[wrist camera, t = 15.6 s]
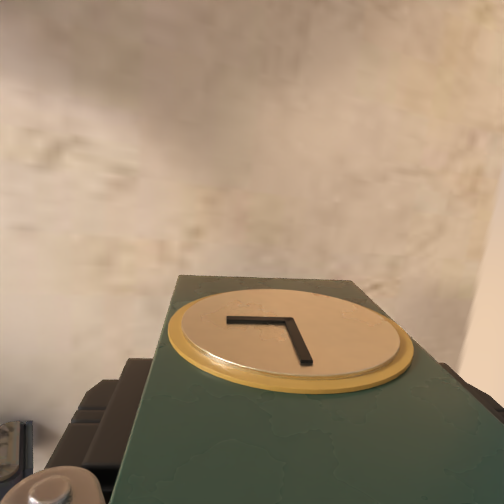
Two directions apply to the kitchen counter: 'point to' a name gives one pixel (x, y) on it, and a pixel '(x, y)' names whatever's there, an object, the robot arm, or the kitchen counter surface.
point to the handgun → (15, 454)
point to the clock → (301, 405)
